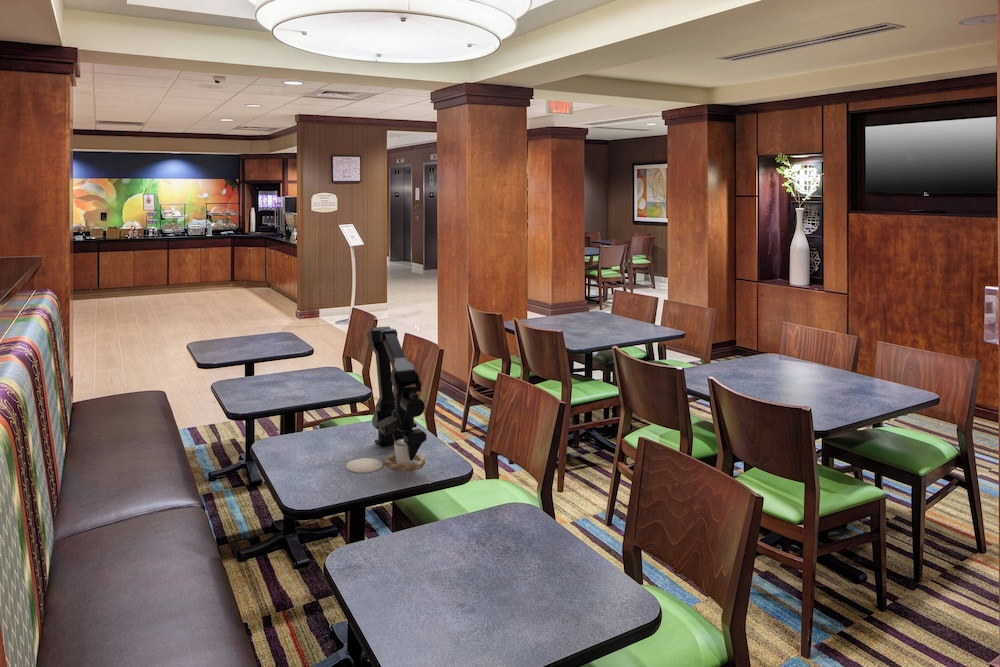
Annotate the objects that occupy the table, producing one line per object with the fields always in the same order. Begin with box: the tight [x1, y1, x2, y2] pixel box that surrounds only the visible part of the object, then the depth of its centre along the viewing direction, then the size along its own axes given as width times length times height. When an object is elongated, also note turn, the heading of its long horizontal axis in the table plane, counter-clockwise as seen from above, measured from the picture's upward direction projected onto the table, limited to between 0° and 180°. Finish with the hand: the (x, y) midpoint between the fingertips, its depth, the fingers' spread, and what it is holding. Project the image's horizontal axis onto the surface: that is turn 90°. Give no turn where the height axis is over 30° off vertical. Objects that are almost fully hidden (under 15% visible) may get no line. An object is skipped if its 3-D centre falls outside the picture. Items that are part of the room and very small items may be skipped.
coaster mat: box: [345, 457, 383, 474], centre depth 222 cm, size 11×11×1 cm
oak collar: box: [385, 452, 426, 472], centre depth 225 cm, size 11×11×1 cm
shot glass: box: [393, 439, 416, 465], centre depth 224 cm, size 7×7×7 cm
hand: (405, 455), depth 225 cm, fingers open, 9 cm apart
